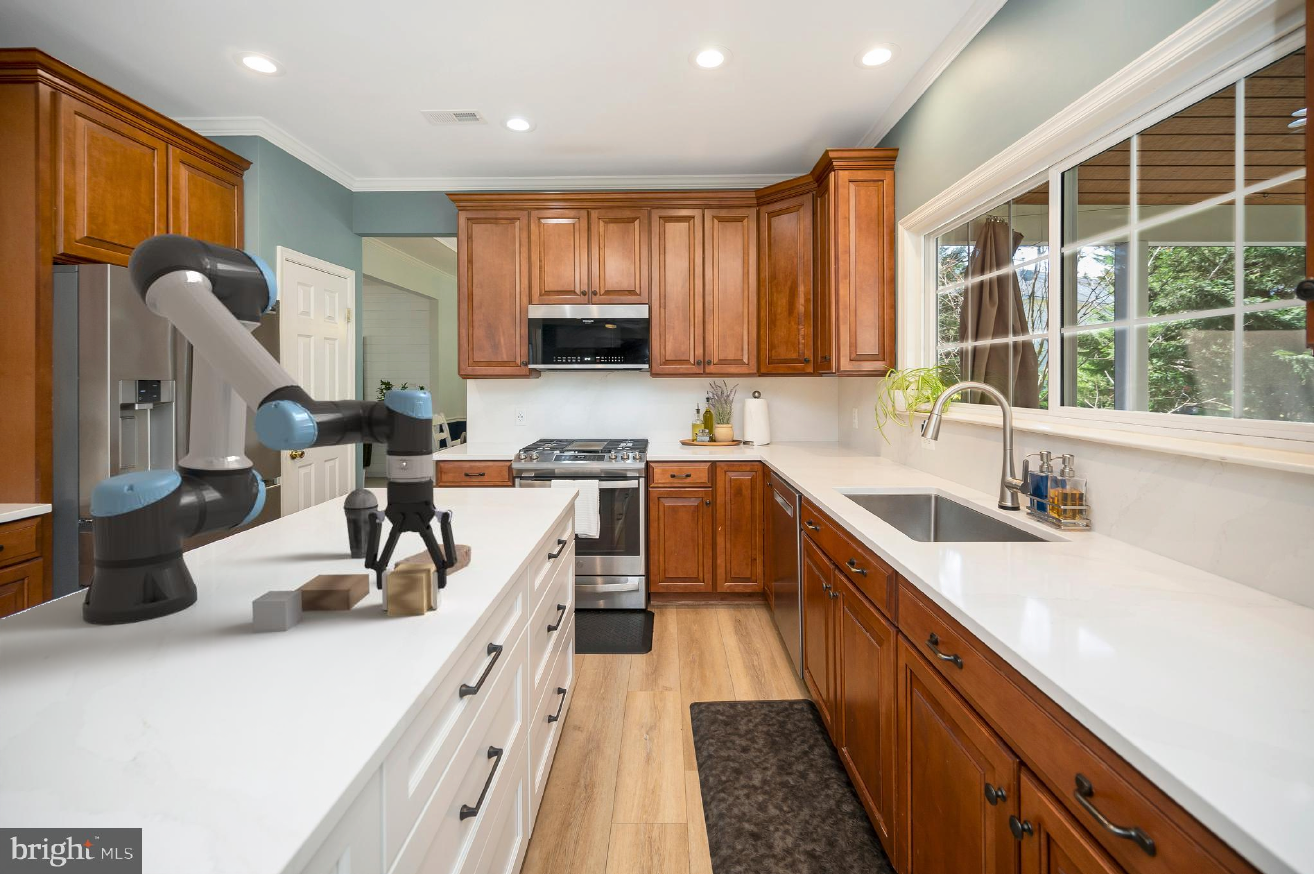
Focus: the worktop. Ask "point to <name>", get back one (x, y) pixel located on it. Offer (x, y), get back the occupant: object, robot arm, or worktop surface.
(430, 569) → the oak block
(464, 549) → the brick
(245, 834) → the worktop surface
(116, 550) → the robot arm
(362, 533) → the beverage cup
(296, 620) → the grey block
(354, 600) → the walnut block
